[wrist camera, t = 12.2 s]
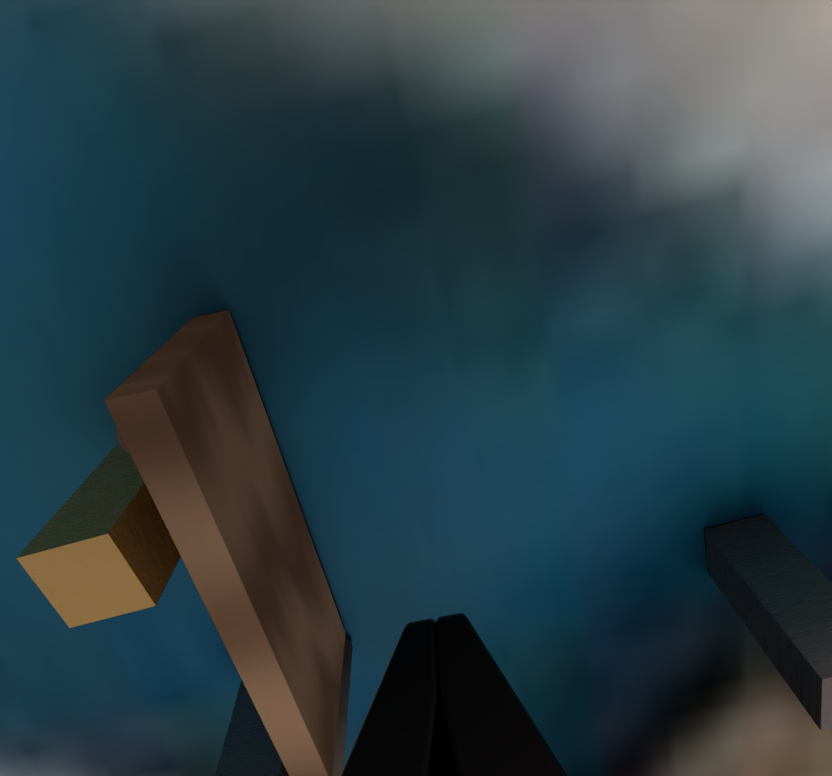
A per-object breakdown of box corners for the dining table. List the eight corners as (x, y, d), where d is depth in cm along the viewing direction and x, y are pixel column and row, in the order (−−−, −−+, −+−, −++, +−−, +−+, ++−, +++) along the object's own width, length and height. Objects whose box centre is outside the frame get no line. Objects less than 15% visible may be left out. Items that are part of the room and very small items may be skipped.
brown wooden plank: (355, 655, 24) (345, 807, 19) (304, 665, 24) (279, 818, 19) (231, 309, 18) (160, 388, 12) (162, 324, 18) (60, 409, 12)
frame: (274, 677, 25) (235, 855, 19) (127, 425, 20) (4, 561, 13) (766, 558, 23) (900, 713, 17) (756, 245, 18) (950, 305, 12)
